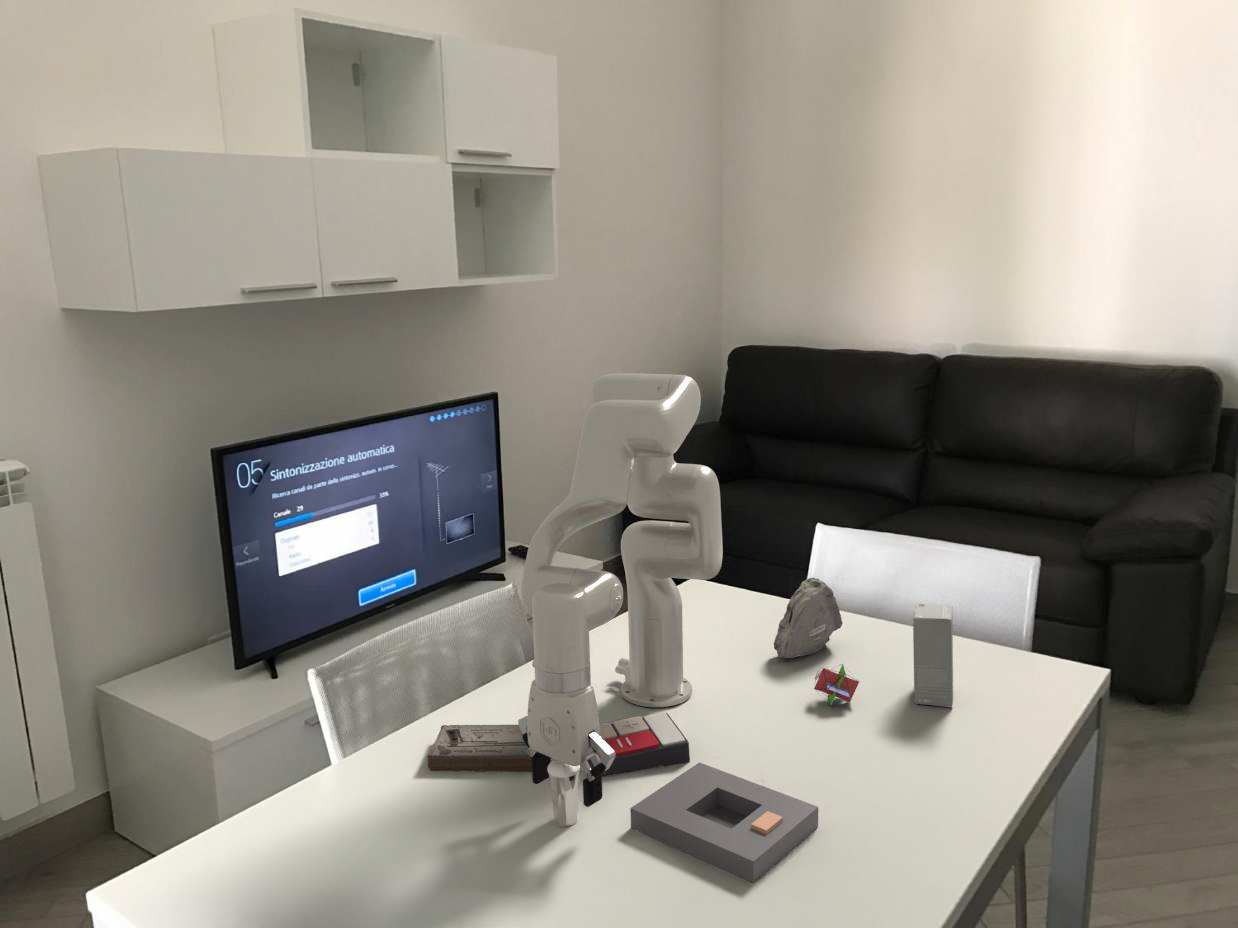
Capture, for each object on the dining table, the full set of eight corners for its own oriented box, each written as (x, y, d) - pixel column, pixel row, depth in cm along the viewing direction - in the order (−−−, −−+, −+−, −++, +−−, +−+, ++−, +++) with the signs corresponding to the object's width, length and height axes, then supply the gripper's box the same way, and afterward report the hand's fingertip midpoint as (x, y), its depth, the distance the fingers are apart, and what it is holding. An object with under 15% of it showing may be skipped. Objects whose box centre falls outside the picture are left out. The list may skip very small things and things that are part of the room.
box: (539, 774, 157) (538, 755, 156) (427, 773, 158) (426, 755, 157) (547, 740, 168) (546, 722, 167) (442, 739, 169) (441, 722, 168)
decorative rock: (825, 638, 206) (826, 566, 203) (850, 648, 201) (851, 575, 198) (764, 657, 198) (764, 583, 195) (788, 668, 192) (788, 592, 189)
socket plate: (630, 827, 141) (630, 803, 141) (699, 780, 153) (699, 758, 152) (753, 882, 129) (753, 856, 128) (818, 826, 140) (818, 802, 140)
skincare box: (952, 709, 174) (956, 621, 171) (908, 704, 176) (912, 617, 173) (953, 688, 182) (957, 604, 179) (911, 684, 184) (914, 600, 181)
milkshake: (583, 831, 141) (581, 764, 139) (545, 827, 142) (542, 761, 140) (591, 813, 145) (588, 748, 143) (554, 810, 146) (551, 745, 144)
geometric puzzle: (864, 683, 180) (837, 648, 179) (869, 699, 174) (842, 664, 173) (831, 704, 182) (804, 671, 181) (835, 722, 175) (807, 687, 174)
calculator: (577, 725, 165) (666, 707, 168) (579, 750, 166) (668, 731, 169) (594, 757, 154) (689, 737, 158) (596, 783, 155) (691, 763, 159)
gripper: (498, 668, 142) (504, 782, 145) (591, 701, 131) (595, 823, 134) (537, 652, 147) (541, 761, 151) (629, 682, 136) (632, 799, 140)
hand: (567, 790), depth 142 cm, fingers open, 9 cm apart
